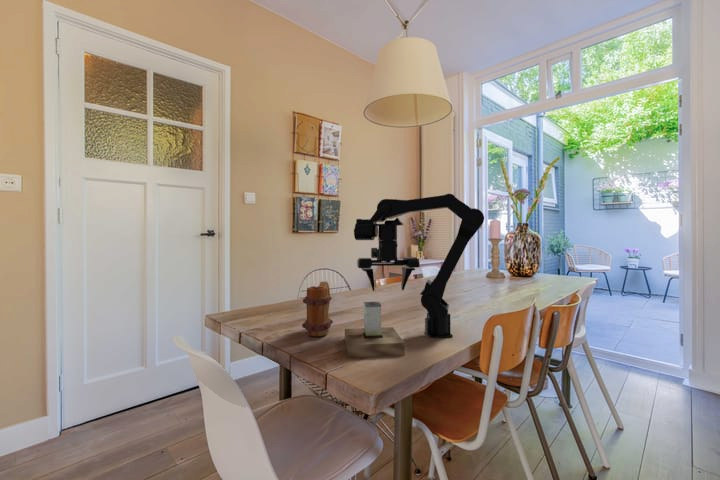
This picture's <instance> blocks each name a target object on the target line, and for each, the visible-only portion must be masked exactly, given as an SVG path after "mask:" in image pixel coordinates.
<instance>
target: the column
mask: <svg viewBox="0 0 720 480" xmlns="http://www.w3.org/2000/svg"><path fill="white" fill-rule="evenodd" d="M363 328H364V332H365V335H366V336H374V335H381V328H382V304H381V303H380V301H363Z"/></svg>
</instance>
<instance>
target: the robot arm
mask: <svg viewBox="0 0 720 480" xmlns="http://www.w3.org/2000/svg"><path fill="white" fill-rule="evenodd" d="M442 209H448V210H449V211H451V212H452V213H453V214H454V215H455V216H457V217H458V218H459V219H461V222H460V224H459V228H458V232H457V234H456V237H455V239H454V241H453V243H452V245H451V247H450V249H449V250H448V252H447V254H446V257H445V259H444V260H443V263H442V265H441V266H440V268H439V270H438V272H437V274H436V276H435V278H433V280H432V281H431V280H430V279H428V280H427V281H426V282H425V285H424V288H423V289H422V291H421V292H420V293H419V294H420V295H421V296H420V303H421V304H420V305H422V307H423V308H424V309H426V311H427V312H426V318H424V333H426V335H428V336H429V337H430V338H431V339H432V338H433V339H435V338H452V337H454V335H453V334H452V333H451V314H450V313H448V312H449V308H450V304H449V303H448V302H447V301H446V300H445V299H444V298H443V297H444V293H445V290H446V286H447V284H448V282H449V280H450V278H451V276H452V274H453V272H454V270H455V268H456V267H457V264H458V262H459V261H460V258H461V257H462V255H463V253H464V251H465V248H466V247H467V246H468V244H469V241H470V240H471V239H472V238H473V237H474V235H475V234H476V233H477V231H478V230H479V229H480V228H481V227H482V226H483V225H484V222H485V221H484V220H485V215H484V213H483V212H482V211H481V210H480V209H478V208H472V207H470V206H468V205H467V204H466V203H464V202H463V201H461V200H460V199H459V198H457V197H456V196H455V195H454V194H453V193H446V194H442V195H435V196H428V197H421V198H414V199H413V198H412V199H397V198H396V199H393V198H384V199H381V200H380V201H379V202H378V203H377V205H376V211H375V212H374V214H373V215H372V216H371V217H370V218H369V219H362V218H356V220H355V221H356V222H355V225H354V229H353V236H354V239H355V240H356V241H375V238H377V237H378V247H371V249H370V257H359V258H358V259H357V260H356V262H357V263H356V264H357V268H358V269H361V270H362V271H363V272H365V273H366V275H367V278H368V280H369V284H370V287H371V290H372V291H373V292H375V279H374V278H375V277H374V276H375V275H374V269H373V268H372V267H373V266H375V267H377V266H379V267H380V266H381V267H382V266H385V267H386V266H389V267H391V266H402V267H401V272H402V274H401V287H400V288H401V291H404V289H405V288H406V285H407V282H408V280H409V278H410V276H411V274H412V272H413V271H416V268H420V259H419V258H418V257H411V256H410V257H406V256H405V257H402V259H398V226H404V223H403V222H402V221H401V219H400V217H401V216H404V215H406V214H410V213H418V212H424V211H433V210H442ZM393 219H394V220H393Z"/></svg>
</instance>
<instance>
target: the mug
mask: <svg viewBox="0 0 720 480" xmlns="http://www.w3.org/2000/svg"><path fill="white" fill-rule="evenodd" d="M330 293H331V290H330V285H329V282H328V281H320V283H319V285H318V286H310V287H307V289H306V296H305V297H304V298H303V299H302V303H304V304H305V305H306V320H305V321H304V322H303V323H302V325H301V327H302V328H304V329H305V331H306V334H307V335H308V336H309V337H315V338H316V337H317V338H318V337H324V336H326V335H327V334H328V333H329V332H330V331H329V330H330V328H331V326H332V324H333V321H334V320H333V319H331V318H330V317H329V316H330V315H329V310H330V304H331V303H330V302H331V301H332V299H333V298H332V297H331V294H330Z"/></svg>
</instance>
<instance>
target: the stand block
mask: <svg viewBox="0 0 720 480" xmlns="http://www.w3.org/2000/svg"><path fill="white" fill-rule="evenodd" d="M344 343H345V347H346V353H347V358H363V357H365V358H366V357H383V356H384V357H387V356H389V357H390V356H403V355H404V356H405V354H406V353H405V349H406V347H405V346H406V344H405V341H404V339H402V337H401V336H400V335H399V333H398V332H397V331H396V329H395V328H394V326H389V327H388V326H387V327H384V326H383V327H381V335H374V336H366V335H365V332H364V327H360V328H356V327H355V328H344Z"/></svg>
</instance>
